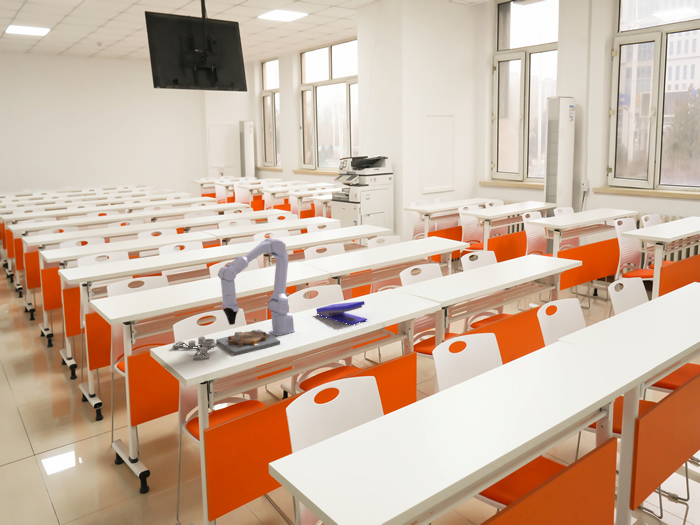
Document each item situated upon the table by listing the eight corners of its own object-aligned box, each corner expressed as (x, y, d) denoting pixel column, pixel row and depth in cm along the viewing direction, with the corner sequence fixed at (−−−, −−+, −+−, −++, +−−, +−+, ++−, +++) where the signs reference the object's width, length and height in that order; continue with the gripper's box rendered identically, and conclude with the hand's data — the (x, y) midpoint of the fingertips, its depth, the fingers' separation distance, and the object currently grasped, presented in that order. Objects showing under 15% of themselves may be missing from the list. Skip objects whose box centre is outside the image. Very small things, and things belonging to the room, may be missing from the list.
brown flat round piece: (236, 333, 257) (235, 323, 256) (272, 333, 254) (271, 322, 253) (221, 346, 240) (220, 335, 240) (259, 346, 237) (258, 335, 236)
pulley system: (201, 341, 258) (169, 348, 248) (200, 331, 257) (169, 337, 247) (230, 357, 237) (197, 364, 228) (230, 346, 237) (197, 353, 227)
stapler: (350, 326, 265) (349, 306, 263) (315, 316, 286) (314, 297, 284) (368, 321, 272) (367, 301, 270) (333, 311, 293) (331, 292, 291)
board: (259, 332, 262) (259, 328, 262) (280, 344, 244) (279, 339, 244) (216, 342, 251) (216, 338, 251) (234, 355, 233) (234, 350, 233)
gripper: (214, 292, 247) (217, 322, 249) (226, 298, 235) (229, 329, 237) (229, 290, 250) (232, 319, 253) (242, 295, 238) (244, 326, 241)
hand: (232, 324), depth 245 cm, fingers closed
